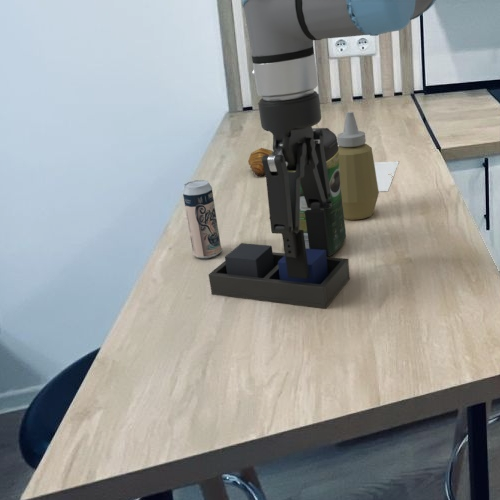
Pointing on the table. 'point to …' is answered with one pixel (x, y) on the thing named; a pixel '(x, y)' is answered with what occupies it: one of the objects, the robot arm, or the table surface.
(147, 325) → the table surface
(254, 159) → the croissant
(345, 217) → the squeeze bottle
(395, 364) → the table surface
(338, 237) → the coffee jar
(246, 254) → the charcoal cube
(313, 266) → the navy blue cube
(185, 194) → the beer can
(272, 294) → the divided tray
